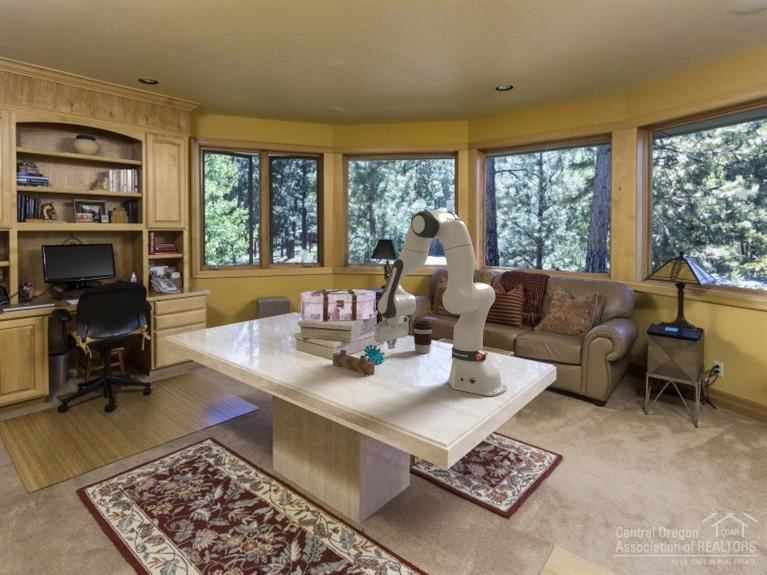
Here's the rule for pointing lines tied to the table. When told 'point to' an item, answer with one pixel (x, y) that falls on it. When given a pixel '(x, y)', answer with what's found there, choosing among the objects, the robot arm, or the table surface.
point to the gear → (374, 354)
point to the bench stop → (353, 363)
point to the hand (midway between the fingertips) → (391, 348)
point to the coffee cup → (422, 336)
